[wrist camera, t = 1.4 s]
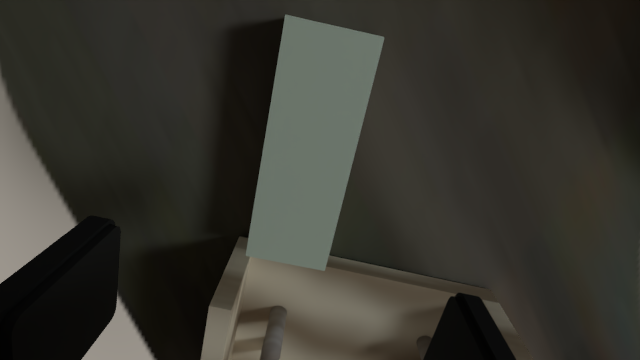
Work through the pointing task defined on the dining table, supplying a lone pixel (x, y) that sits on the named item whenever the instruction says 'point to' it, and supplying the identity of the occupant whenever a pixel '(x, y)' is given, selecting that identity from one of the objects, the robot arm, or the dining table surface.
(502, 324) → the shelf frame
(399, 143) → the dining table surface
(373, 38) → the grey-green rectangular block
